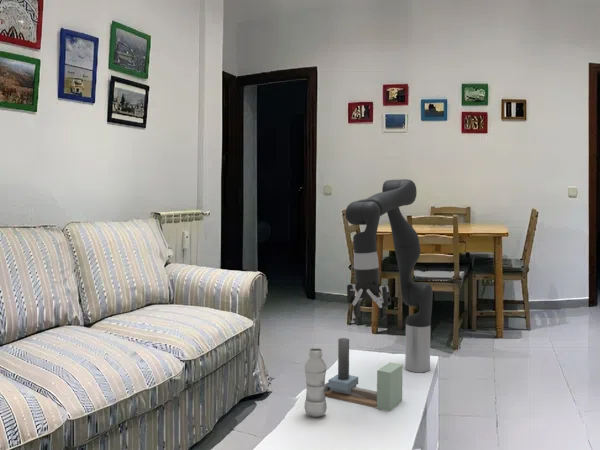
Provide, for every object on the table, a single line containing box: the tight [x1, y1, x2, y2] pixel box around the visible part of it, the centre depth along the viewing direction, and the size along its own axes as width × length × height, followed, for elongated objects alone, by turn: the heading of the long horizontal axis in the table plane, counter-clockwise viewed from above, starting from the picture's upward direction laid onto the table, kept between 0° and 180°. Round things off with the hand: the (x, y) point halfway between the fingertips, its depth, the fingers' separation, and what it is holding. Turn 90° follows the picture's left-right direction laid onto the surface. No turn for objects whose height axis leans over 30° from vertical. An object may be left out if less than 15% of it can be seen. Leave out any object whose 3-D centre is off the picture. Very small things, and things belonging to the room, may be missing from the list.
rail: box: [324, 382, 377, 409], centre depth 183 cm, size 9×20×3 cm, turn 58°
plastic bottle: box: [304, 347, 328, 418], centre depth 167 cm, size 6×7×20 cm
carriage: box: [327, 337, 359, 394], centre depth 185 cm, size 8×7×17 cm
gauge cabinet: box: [376, 361, 404, 412], centre depth 176 cm, size 10×5×12 cm, turn 148°
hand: (369, 318), depth 173 cm, fingers open, 8 cm apart
